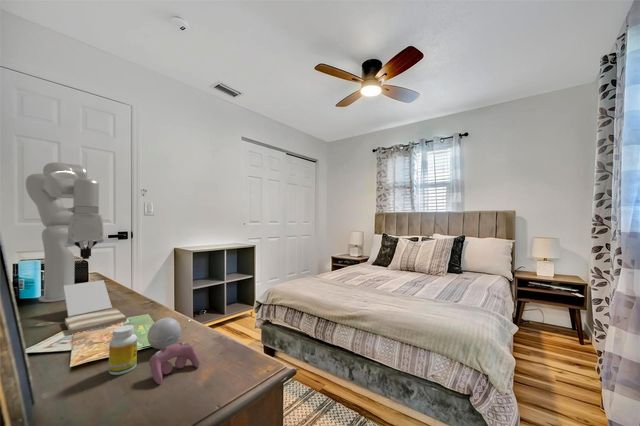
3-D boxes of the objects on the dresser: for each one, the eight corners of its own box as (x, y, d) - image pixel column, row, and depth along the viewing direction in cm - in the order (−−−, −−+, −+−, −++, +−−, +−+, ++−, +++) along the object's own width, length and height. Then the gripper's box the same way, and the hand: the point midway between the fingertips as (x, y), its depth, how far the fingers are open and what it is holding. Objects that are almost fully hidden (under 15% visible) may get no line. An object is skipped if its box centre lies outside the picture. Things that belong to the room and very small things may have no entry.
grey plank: (111, 310, 103) (112, 307, 102) (68, 319, 94) (68, 316, 93) (103, 282, 112) (103, 280, 111) (63, 288, 103) (63, 285, 102)
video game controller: (194, 368, 68) (188, 339, 70) (202, 365, 65) (196, 335, 67) (149, 387, 60) (144, 354, 62) (157, 385, 58) (151, 350, 60)
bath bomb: (184, 348, 75) (184, 319, 75) (150, 358, 69) (150, 326, 69) (176, 338, 81) (176, 311, 81) (144, 347, 75) (145, 317, 76)
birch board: (126, 321, 93) (126, 317, 93) (71, 335, 83) (71, 330, 83) (115, 312, 102) (115, 308, 102) (64, 322, 92) (65, 318, 92)
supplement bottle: (108, 368, 65) (108, 327, 65) (135, 360, 68) (135, 322, 68) (109, 378, 61) (109, 335, 61) (138, 370, 64) (138, 329, 64)
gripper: (60, 210, 98) (60, 262, 98) (112, 211, 109) (111, 257, 109) (58, 211, 103) (57, 260, 103) (107, 211, 114) (107, 255, 114)
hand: (85, 258), depth 106 cm, fingers closed
